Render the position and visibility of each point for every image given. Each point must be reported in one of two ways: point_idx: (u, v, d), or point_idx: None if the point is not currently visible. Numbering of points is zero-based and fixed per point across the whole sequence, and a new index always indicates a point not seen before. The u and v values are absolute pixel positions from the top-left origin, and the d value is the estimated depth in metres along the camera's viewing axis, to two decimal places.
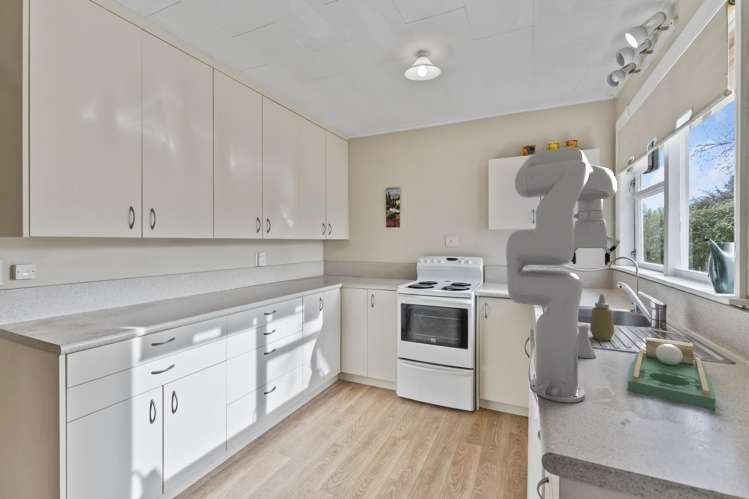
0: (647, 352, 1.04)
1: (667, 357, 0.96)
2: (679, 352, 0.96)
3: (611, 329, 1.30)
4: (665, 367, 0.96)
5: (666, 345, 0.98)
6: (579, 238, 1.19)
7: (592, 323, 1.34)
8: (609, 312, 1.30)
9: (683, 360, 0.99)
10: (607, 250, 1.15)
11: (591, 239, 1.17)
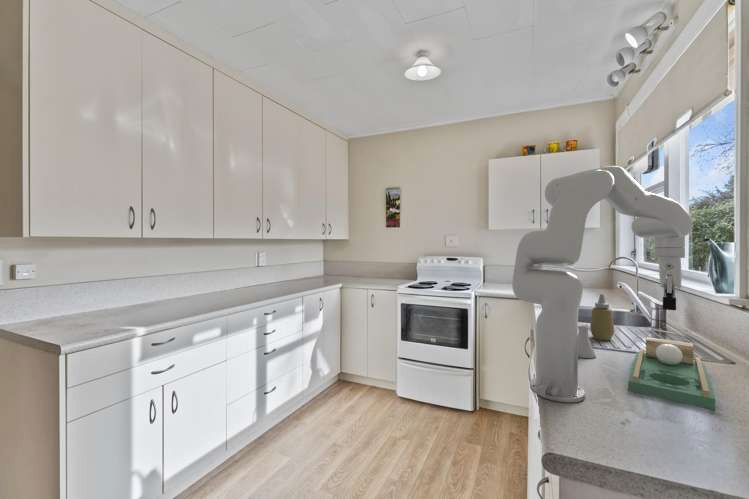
0: (647, 352, 1.04)
1: (667, 357, 0.96)
2: (679, 352, 0.96)
3: (611, 329, 1.30)
4: (665, 367, 0.96)
5: (666, 345, 0.98)
6: (680, 278, 1.04)
7: (592, 323, 1.34)
8: (609, 312, 1.30)
9: (683, 360, 0.99)
10: None
11: None
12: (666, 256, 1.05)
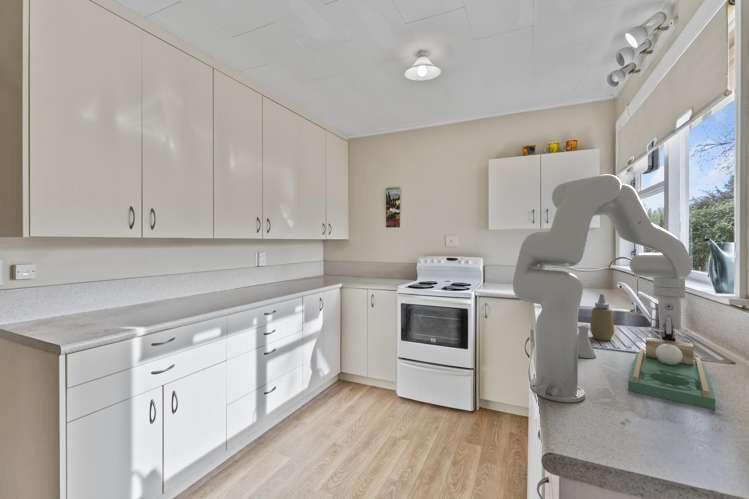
0: (647, 352, 1.04)
1: (667, 357, 0.96)
2: (679, 352, 0.96)
3: (611, 329, 1.30)
4: (665, 367, 0.96)
5: (666, 345, 0.98)
6: (680, 319, 1.01)
7: (592, 323, 1.34)
8: (609, 312, 1.30)
9: (683, 360, 0.99)
10: None
11: None
12: (666, 296, 1.03)
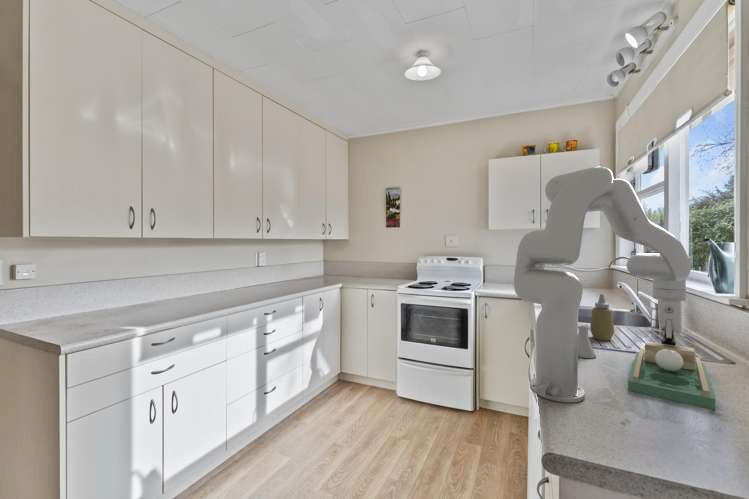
0: (646, 357, 1.00)
1: None
2: None
3: (611, 329, 1.30)
4: None
5: (666, 369, 0.93)
6: (681, 323, 0.97)
7: (592, 323, 1.34)
8: (609, 312, 1.30)
9: (684, 366, 0.94)
10: None
11: None
12: (666, 298, 0.99)
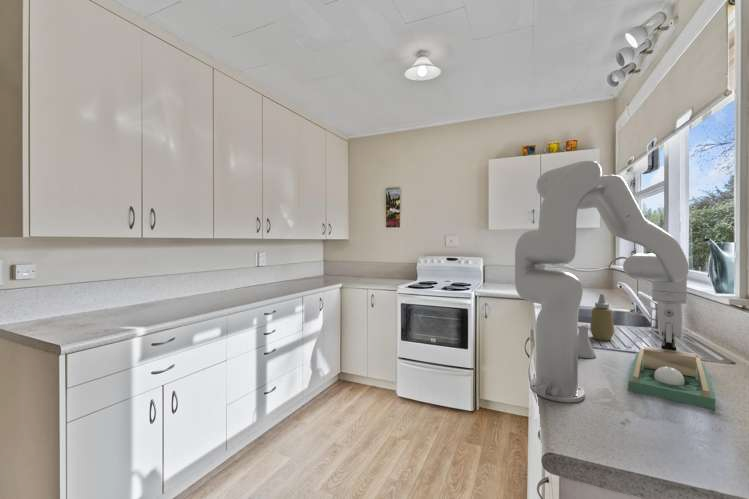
0: (645, 363, 0.95)
1: (667, 372, 0.86)
2: None
3: (611, 329, 1.30)
4: None
5: None
6: (681, 326, 0.93)
7: (592, 323, 1.34)
8: (609, 312, 1.30)
9: (685, 372, 0.90)
10: None
11: None
12: (665, 301, 0.94)
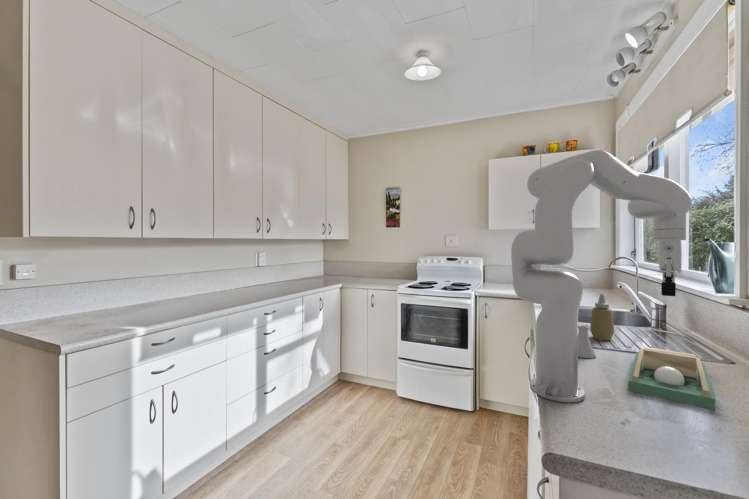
0: (645, 364, 0.95)
1: (667, 371, 0.86)
2: None
3: (611, 329, 1.30)
4: None
5: None
6: (681, 261, 0.98)
7: (592, 323, 1.34)
8: (609, 312, 1.30)
9: (685, 373, 0.89)
10: None
11: None
12: (666, 238, 0.99)
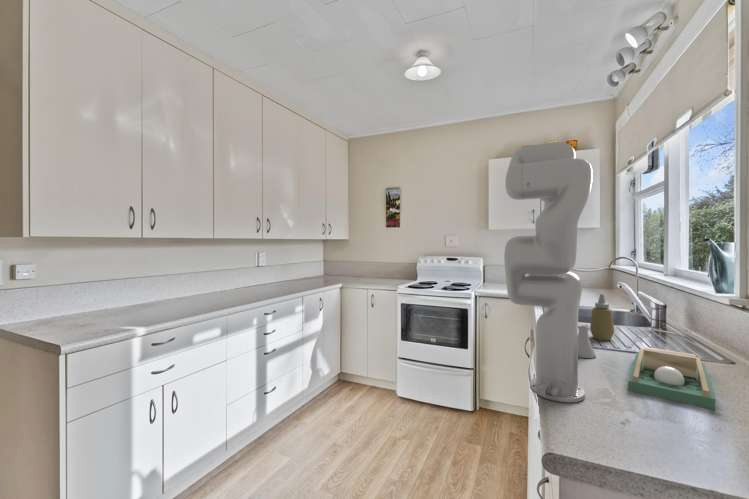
0: (645, 364, 0.95)
1: (667, 371, 0.86)
2: None
3: (611, 329, 1.30)
4: None
5: None
6: None
7: (592, 323, 1.34)
8: (609, 312, 1.30)
9: (685, 373, 0.89)
10: None
11: None
12: None
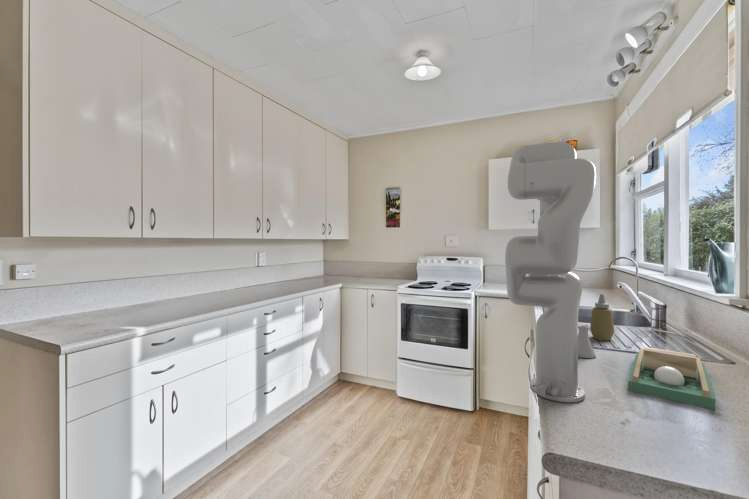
0: (645, 364, 0.95)
1: (667, 371, 0.86)
2: None
3: (611, 329, 1.30)
4: None
5: None
6: None
7: (592, 323, 1.34)
8: (609, 312, 1.30)
9: (685, 373, 0.89)
10: None
11: None
12: None
